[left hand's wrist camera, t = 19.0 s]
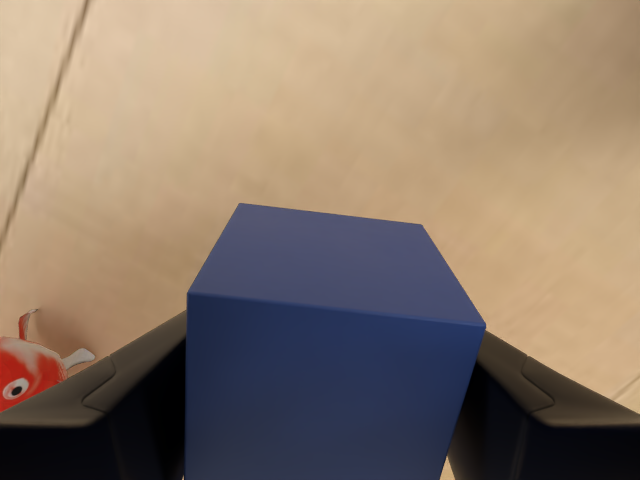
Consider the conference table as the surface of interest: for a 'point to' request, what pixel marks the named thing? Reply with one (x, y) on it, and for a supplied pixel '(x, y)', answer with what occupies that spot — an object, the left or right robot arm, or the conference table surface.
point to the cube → (324, 350)
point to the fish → (31, 366)
